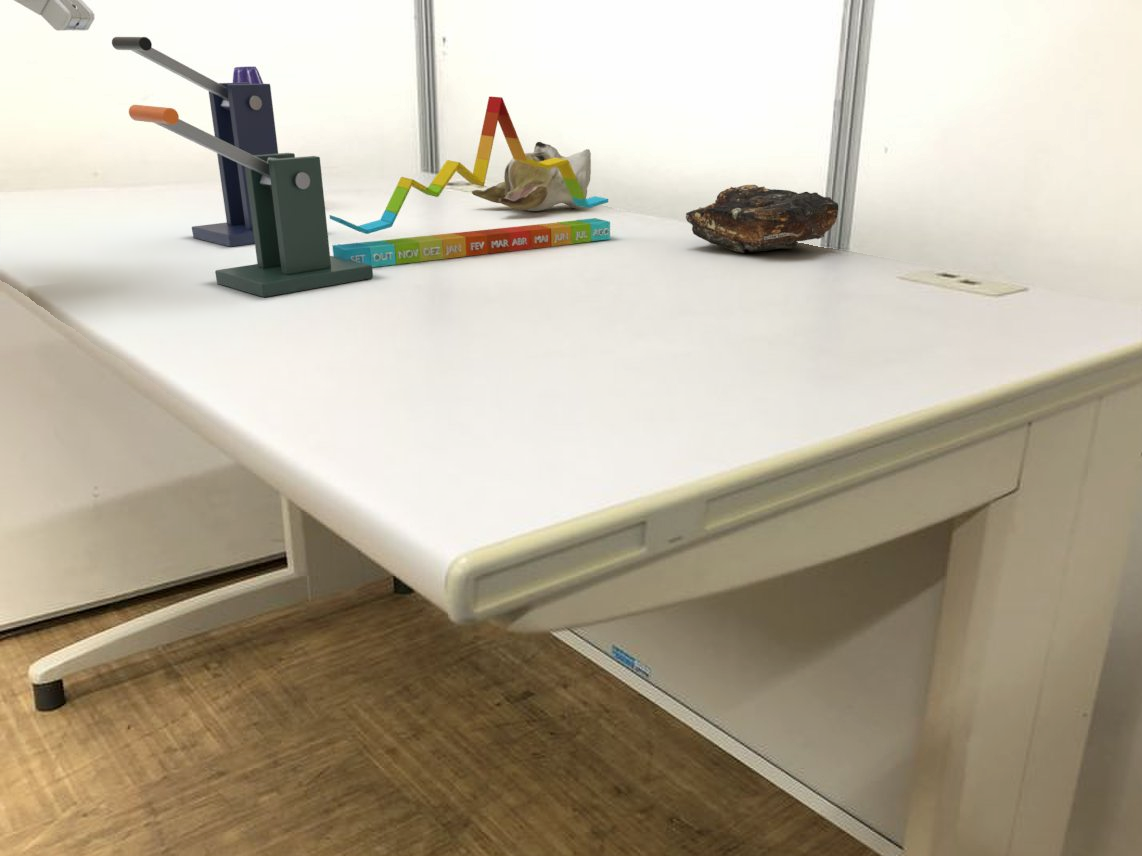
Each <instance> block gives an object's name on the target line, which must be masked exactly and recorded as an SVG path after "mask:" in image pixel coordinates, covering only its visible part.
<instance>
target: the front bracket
mask: <svg viewBox="0 0 1142 856" xmlns="http://www.w3.org/2000/svg"><path fill="white" fill-rule="evenodd" d="M253 156H255V157H258V158H260V159H262V160H264V161H266V162H267V160H268V157H270V158H277V159H269V160H268V163H269V171H270V179H271V188H272V189H271V188H268V187H266V186H264V185H262V184H260V181H261V178H262V174H260V173H258V172H256V171H254V170H251V169H249V168H247V167H245V171H246V179H247V187H248V194H249V202H250V210H251V217H252V225H253V233H254V240H255V243H254V247H255V248H254V249H255V255H256V262H257V263H255V264H248V265H241V266H235V267H234V266H233V267H228V268H222V269H216V270H215V271H214V273H215V281H216V284H218V285H221V286H225V287H228V288H231V289H235V290H238V291H242V292H245V293H248V294H252V295H255V296H259V297H262V298H267V297H268V298H269V297H274V296H279V295H285V294H292V293H296V292H302V291H303V292H304V291H308V290H314V289H320V288H325V287H330V286H336V285H342V284H347V283H354V282H359V281H364V280H370V279H373V278H374V273H373V271H374V270H373V267H372V265H368V264H364V263H360V262H355V261H351V260H347V259H342V258H338V257H334V256H333V255H331V253H330V243H329V235H328V223H327V214H326V203H325V194H324V186H323V175H322V167H321V165H322V164H321V157H320V156H317V155H309V156H297V157H296V156H295V153H293V152H281V153H280V152H278V154H265V155H253Z"/></svg>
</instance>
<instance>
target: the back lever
mask: <svg viewBox="0 0 1142 856" xmlns="http://www.w3.org/2000/svg"><path fill="white" fill-rule="evenodd" d="M111 45H112V47H113V48H114V49H115V50H117V51H131V52H134V53H135V54H137V55H139V56H140V57H142V58H144V59H146V60H148V61H150V62H153V63H154V64H156V65H158V66H160V67H162V68H164V69H165V70H167V71H169V72H171V73H173V74H175V75H177V76H179V77H181V78H182V79H185V80H186V81H188V82H191V83H193V84H194V85H196V86H198V87H200V88H202V89H203V90H206V91H207V92H208V93H209V92H211V93H213V94H215V95H217V96H219V97H221V98H223V101H222V104H221V106H222V107H224V108H226V109H227V110H229V111H230V106H229V98H228V91H227V88H226V87H224V86H223V85H221V84H219V83H220V82H217V81H215V80H213V79H212V78H210V77H207V76H206V75H204V74H202V73H201V72H198V71H196V70H195V69H193V68H192V67H189V66H187V65H186V64H183V63H182V62H180V61H178V60H176V59H174V58H172V57H170V56H169V55H167V54H165V53H163V52H161V51H159V50H158V49H156V48H154V47H152V46H153V44H152V41H151V39H149V38H148V37H147V36H114V37H112V39H111Z"/></svg>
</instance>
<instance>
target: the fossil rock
mask: <svg viewBox="0 0 1142 856" xmlns="http://www.w3.org/2000/svg"><path fill="white" fill-rule="evenodd" d="M838 214H839V203H838V202H836V201H834V200H833V198H831V197H830V196H823V195H821V194H819V193H818V192H814V191H813V192H809V191H803V192H800V193H798V192H796V191H792V190H789V189H788V190H787V189H775V188H773V189H771V188H766V187H765V185H764V186H758V185H756V184H744V185H740V186H737V187H736V186H735V187H733V186H730V187H729V188H726V189H724V190H722V191H720V192H719V193H718V194H717V196H716V199H715V200H714V203H713V202H712V204H711V203H710V204H708V205H707V206H704V207H701V206H700V207H699V208H697V209H693V210H690V211H688V212H686V213H685V219H686V222H688V223H689V224H690V225H691V230H692V234H693V235H694V236H696V237H698V238H700V239H702V240H704V241H705V242H708V243H709V244H712V245H715V246H718V247H721V248H725V249H727V250H730V251H734V252H736V253H743V254H744V253H745V252H746V250H747V251H748V253H756V252H764V251H765V252H767V251H771V250H779V249H794V248H795V247H796V246H797V243H798V242H805V241H811V240H819V239H822V238H823V237H825V234H826V233H827V232H829V230H831V229H832V227H833V226H834V225H835V224H836V222H837V219H838Z"/></svg>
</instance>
